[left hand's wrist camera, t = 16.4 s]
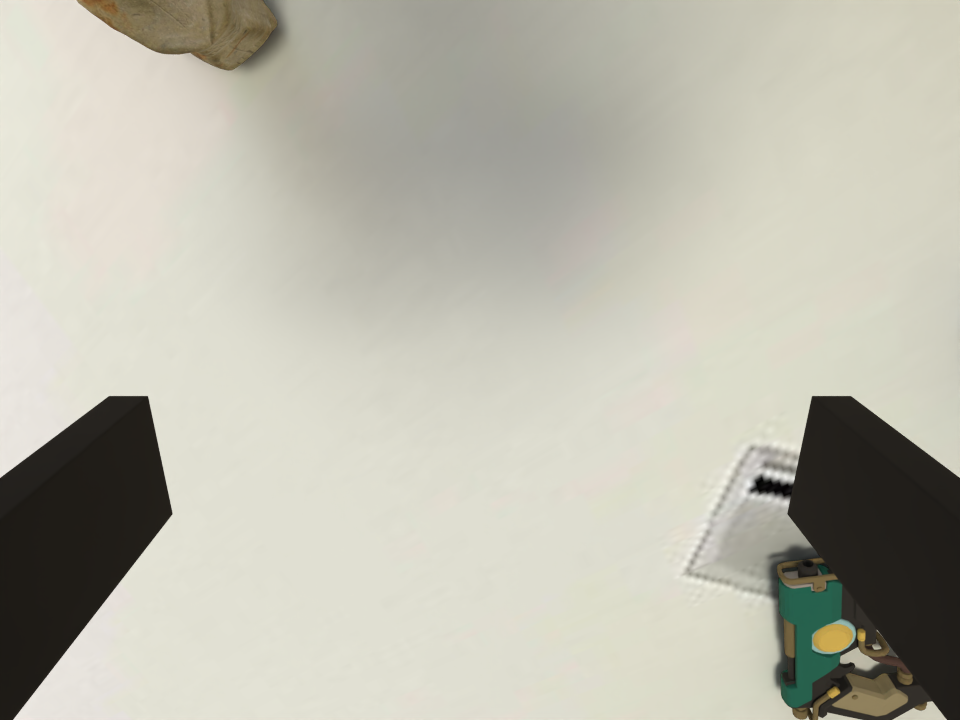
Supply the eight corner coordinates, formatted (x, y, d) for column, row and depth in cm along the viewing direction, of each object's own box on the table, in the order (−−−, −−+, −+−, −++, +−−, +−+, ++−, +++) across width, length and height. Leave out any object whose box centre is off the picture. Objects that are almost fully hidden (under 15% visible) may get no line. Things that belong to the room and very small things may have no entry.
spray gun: (899, 700, 54) (723, 686, 54) (977, 547, 47) (774, 531, 47) (929, 749, 50) (740, 734, 50) (1019, 591, 43) (798, 573, 43)
